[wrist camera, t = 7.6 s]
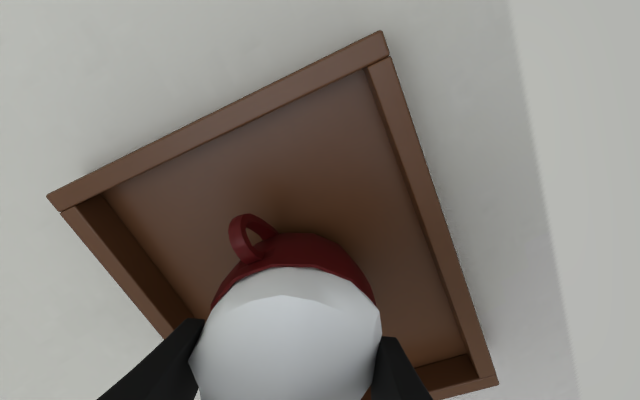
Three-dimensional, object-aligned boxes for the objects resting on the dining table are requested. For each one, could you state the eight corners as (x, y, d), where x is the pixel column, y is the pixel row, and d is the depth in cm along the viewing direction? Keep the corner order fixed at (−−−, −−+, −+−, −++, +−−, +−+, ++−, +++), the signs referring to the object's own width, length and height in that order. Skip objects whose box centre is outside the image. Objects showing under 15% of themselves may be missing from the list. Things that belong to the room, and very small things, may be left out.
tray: (480, 349, 17) (500, 385, 15) (261, 410, 19) (253, 448, 17) (373, 36, 11) (382, 28, 9) (84, 178, 14) (43, 195, 12)
